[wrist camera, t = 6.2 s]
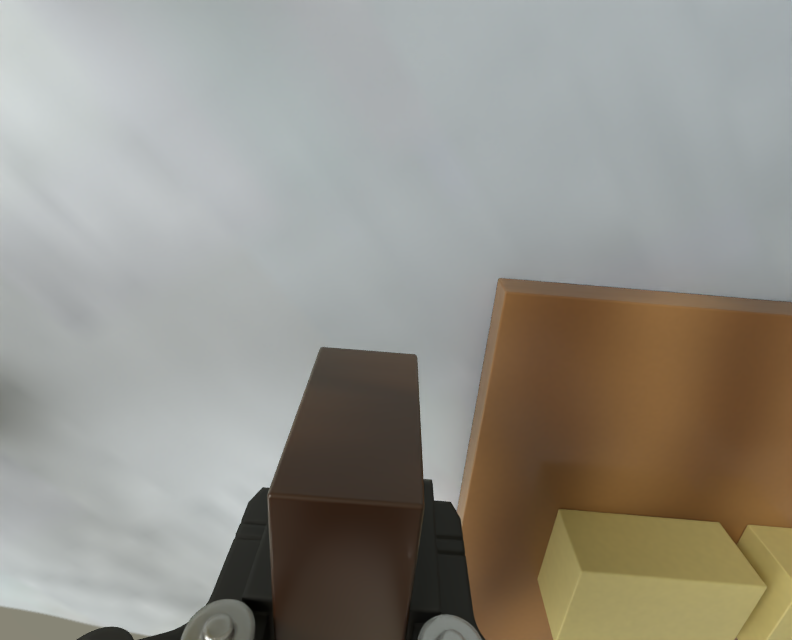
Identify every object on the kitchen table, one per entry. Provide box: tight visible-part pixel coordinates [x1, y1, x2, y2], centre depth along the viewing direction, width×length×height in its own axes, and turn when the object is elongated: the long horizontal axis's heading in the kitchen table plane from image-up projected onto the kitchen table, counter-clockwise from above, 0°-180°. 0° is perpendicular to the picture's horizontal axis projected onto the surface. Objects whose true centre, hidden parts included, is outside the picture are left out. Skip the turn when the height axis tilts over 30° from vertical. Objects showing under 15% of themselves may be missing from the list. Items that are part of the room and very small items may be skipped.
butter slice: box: [736, 525, 792, 640], centre depth 19 cm, size 2×5×3 cm, turn 176°
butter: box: [537, 509, 767, 640], centre depth 19 cm, size 7×5×3 cm, turn 86°
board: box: [457, 278, 792, 640], centre depth 21 cm, size 18×20×2 cm
